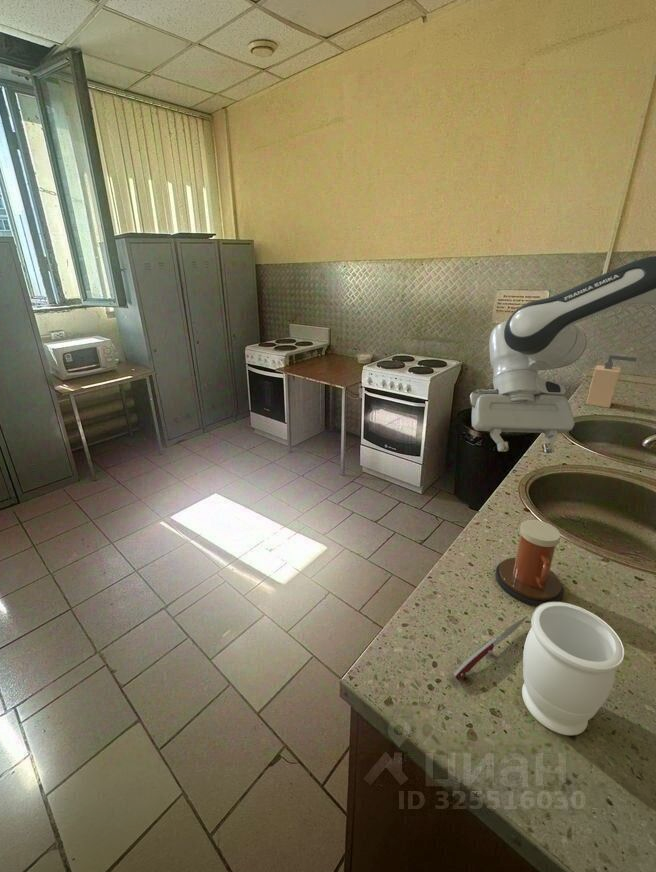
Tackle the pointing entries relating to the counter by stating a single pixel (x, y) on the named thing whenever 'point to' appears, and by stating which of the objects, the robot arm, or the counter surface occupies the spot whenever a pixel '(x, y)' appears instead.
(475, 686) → the counter surface
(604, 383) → the soap dispenser
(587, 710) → the jar
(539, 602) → the base
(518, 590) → the coffee mug with lid
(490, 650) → the knife
